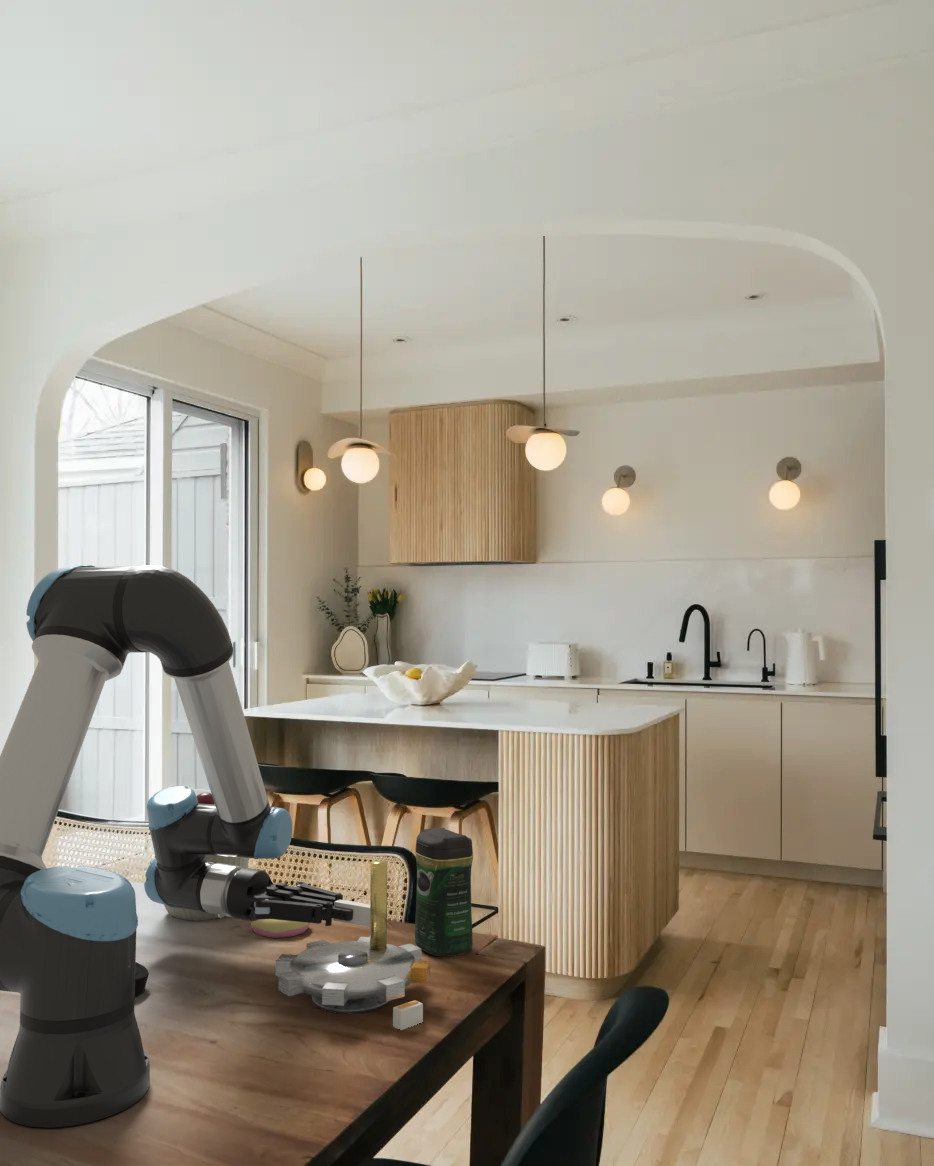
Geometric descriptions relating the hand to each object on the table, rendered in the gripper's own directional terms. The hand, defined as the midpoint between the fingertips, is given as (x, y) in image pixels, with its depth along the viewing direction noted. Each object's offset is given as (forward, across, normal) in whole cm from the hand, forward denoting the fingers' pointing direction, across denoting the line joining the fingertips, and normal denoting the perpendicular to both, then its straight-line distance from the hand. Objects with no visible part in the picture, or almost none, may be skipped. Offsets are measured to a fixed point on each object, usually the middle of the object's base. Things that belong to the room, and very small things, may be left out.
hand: (375, 916), depth 143 cm
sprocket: (+1, +8, -6) cm, 10 cm away
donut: (-24, -15, -10) cm, 30 cm away
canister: (-42, -18, -11) cm, 47 cm away
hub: (+1, +8, -9) cm, 12 cm away
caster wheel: (-32, +19, -11) cm, 39 cm away
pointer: (+12, +13, -8) cm, 20 cm away
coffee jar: (+4, -16, -9) cm, 19 cm away
